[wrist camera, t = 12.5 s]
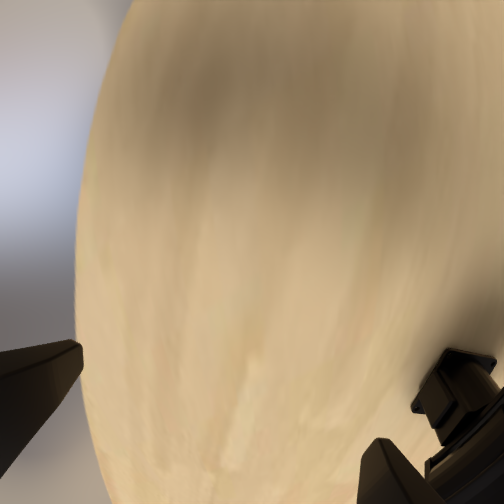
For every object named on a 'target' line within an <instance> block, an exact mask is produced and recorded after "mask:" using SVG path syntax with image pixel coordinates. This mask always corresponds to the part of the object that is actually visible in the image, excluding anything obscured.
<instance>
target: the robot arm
mask: <svg viewBox="0 0 504 504" xmlns="http://www.w3.org/2000/svg"><path fill="white" fill-rule="evenodd" d="M450 353H451V354H450ZM448 354H450V355H449V356H448ZM496 364H497V360H496V359H495V358H494V357H491V356H486V355H481V354H476V353H472V352H467V351H462V350H458V349H453V348H448V349H446V350H445V351H444V353H443V355H442V356H441V358H440V360H439V362H438V364H437V365H436V367H435V369H434V370H433V372H432V374H431V375H430V377H429V379H428V380H427V382H426V384H425V385H424V387H423V389H422V390H421V392H420V393H419V395H418V396H417V398H416V400H415V401H414V403H413V404H412V406H411V411H412V412H413V413H417V414H426V416H427V418H428V421H429V423H430V425H431V428H432V429H435V432H436V434H437V437H438V439H439V442H440V444H441V446H445V447H444V448H443V449H441V450H440V451H439V452H438V453H437V454H435V455H434V456H433V457H432V458H431V457H430V458H429V459H428V460H427V461H425V479H424V478H423V477H422V475H421V474H420V473H419V472H418V471H417V470H416V469H415V468H414V466H413V465H412V464H411V463H410V462H409V461H408V460H407V458H406V457H405V456H404V455H403V454H402V453H401V451H400V450H399V449H398V448H397V447H396V446H395V445H394V443H393V442H392V441H391V440H390V439H388V438H376V439H375V440H374V441H373V442H372V443H371V445H370V446H369V447H368V448H367V450H366V451H365V452H364V454H363V455H362V458H361V465H360V476H359V485H358V494H357V504H504V387H503V388H502V389H500V388H499V386H498V385H497V384H496V382H495V381H494V380H493V379H492V377H491V376H490V374H491V373H492V371H493V369H494V367H495V366H496ZM83 367H84V361H83V347H82V345H81V344H80V343H78V342H76V341H74V340H72V339H68V340H63V341H58V342H53V343H47V344H42V345H37V346H31V347H26V348H20V349H15V350H10V351H3V352H0V479H1V477H2V476H3V475H4V473H5V472H6V471H7V469H8V468H9V467H10V466H11V464H12V463H13V462H14V460H15V459H16V458H17V457H18V455H19V454H20V453H21V452H22V450H23V449H24V448H25V447H26V445H27V444H28V443H29V441H30V440H31V439H32V438H33V436H34V435H35V434H36V433H37V432H38V430H39V429H40V428H41V427H42V426H43V424H44V423H45V422H46V421H47V420H48V418H49V417H50V416H51V415H52V413H53V412H54V411H55V410H56V409H57V407H58V406H59V405H60V403H61V402H62V401H63V399H64V397H65V396H66V395H67V393H68V392H69V390H70V388H71V387H72V385H73V384H74V382H75V381H76V379H77V378H78V376H79V375H80V374H81V372H82V370H83ZM416 407H417V408H416Z"/></svg>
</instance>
